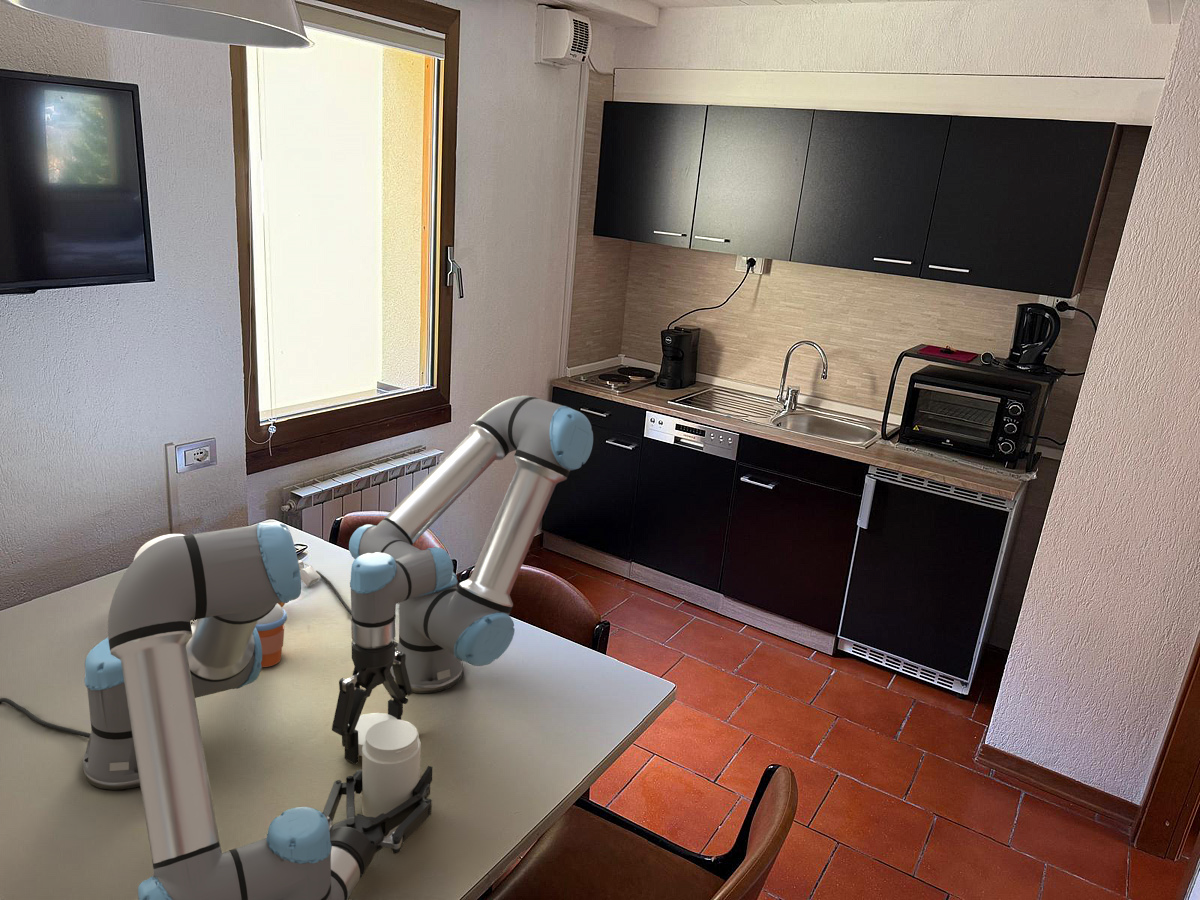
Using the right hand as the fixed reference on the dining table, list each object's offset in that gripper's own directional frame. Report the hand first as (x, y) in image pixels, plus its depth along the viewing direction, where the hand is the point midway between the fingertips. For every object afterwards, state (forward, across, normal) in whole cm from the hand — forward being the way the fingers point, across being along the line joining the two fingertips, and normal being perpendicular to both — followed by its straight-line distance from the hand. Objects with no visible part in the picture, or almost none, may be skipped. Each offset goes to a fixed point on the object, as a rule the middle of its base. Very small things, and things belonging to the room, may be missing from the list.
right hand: (373, 745), depth 158 cm
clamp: (0, -35, -68) cm, 77 cm away
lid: (-3, 0, 0) cm, 3 cm away
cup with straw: (0, -6, -39) cm, 40 cm away
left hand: (-6, +7, +14) cm, 17 cm away
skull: (0, -11, -77) cm, 78 cm away
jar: (0, +11, +16) cm, 19 cm away
